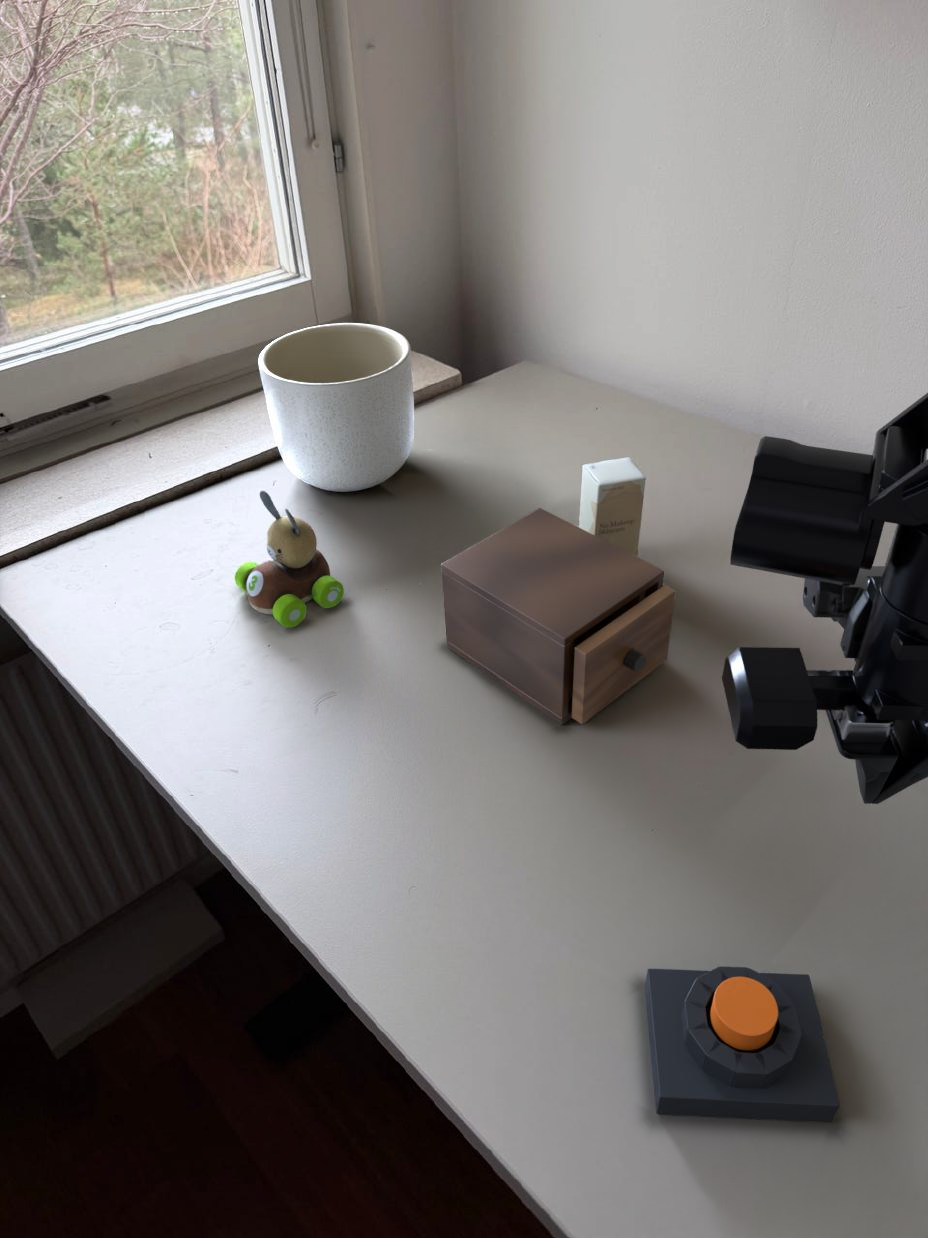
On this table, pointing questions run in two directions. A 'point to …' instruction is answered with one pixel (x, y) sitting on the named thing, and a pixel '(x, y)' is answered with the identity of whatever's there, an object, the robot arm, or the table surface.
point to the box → (613, 502)
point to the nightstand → (536, 602)
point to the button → (744, 1013)
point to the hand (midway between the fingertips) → (868, 798)
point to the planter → (340, 403)
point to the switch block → (737, 1051)
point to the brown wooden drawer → (619, 652)
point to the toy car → (289, 571)
